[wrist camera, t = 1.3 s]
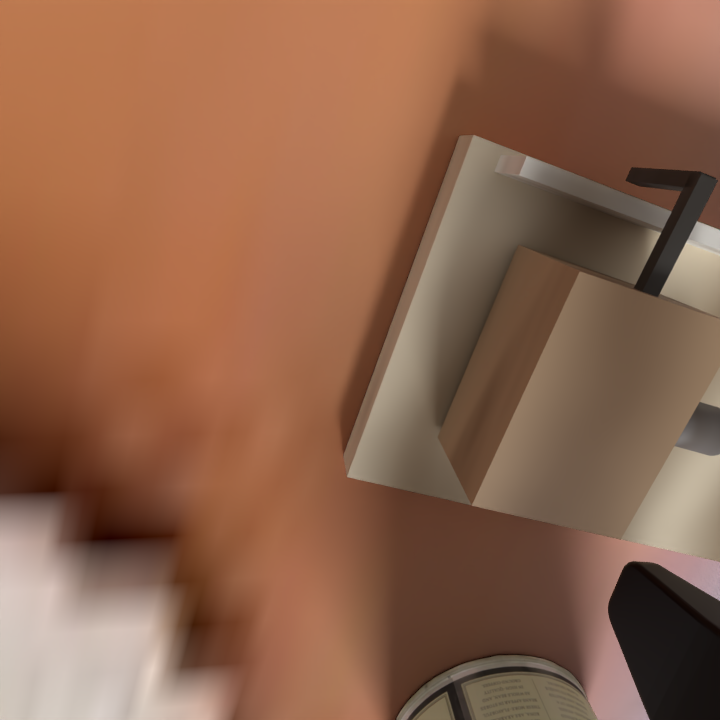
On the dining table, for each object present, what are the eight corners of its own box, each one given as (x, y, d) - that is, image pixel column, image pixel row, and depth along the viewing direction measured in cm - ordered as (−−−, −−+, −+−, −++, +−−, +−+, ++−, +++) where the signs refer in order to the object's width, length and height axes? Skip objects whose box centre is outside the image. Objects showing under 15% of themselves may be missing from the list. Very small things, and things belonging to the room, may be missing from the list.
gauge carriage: (775, 226, 18) (899, 246, 14) (629, 485, 21) (701, 558, 18) (561, 141, 16) (640, 140, 13) (437, 437, 20) (471, 505, 16)
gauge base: (955, 325, 22) (1128, 371, 18) (790, 560, 26) (897, 650, 21) (459, 135, 18) (518, 131, 13) (343, 455, 21) (357, 540, 17)
